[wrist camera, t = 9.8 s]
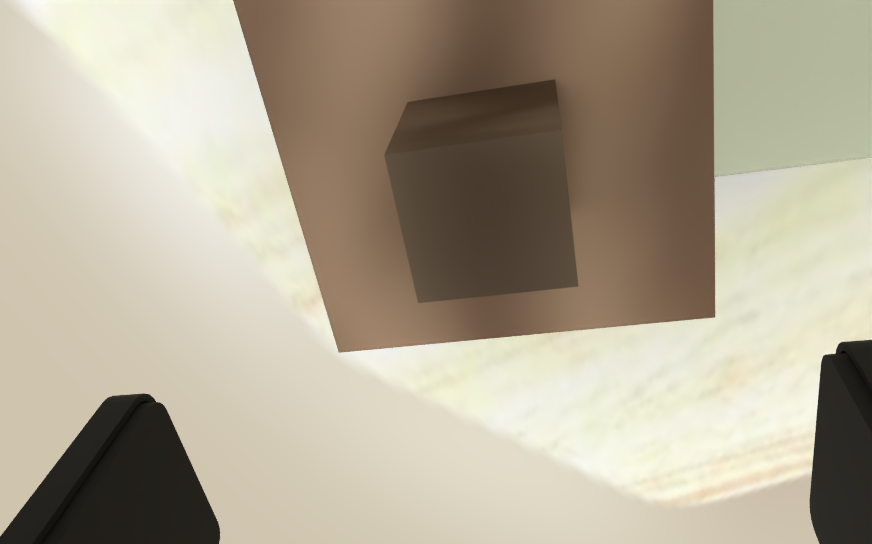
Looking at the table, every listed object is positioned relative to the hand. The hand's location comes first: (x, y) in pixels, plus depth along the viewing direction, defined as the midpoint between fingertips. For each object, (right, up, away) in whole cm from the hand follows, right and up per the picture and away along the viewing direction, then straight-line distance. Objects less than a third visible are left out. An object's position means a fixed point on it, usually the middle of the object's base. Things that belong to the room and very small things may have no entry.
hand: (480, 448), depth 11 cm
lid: (+1, +6, +11) cm, 13 cm away
